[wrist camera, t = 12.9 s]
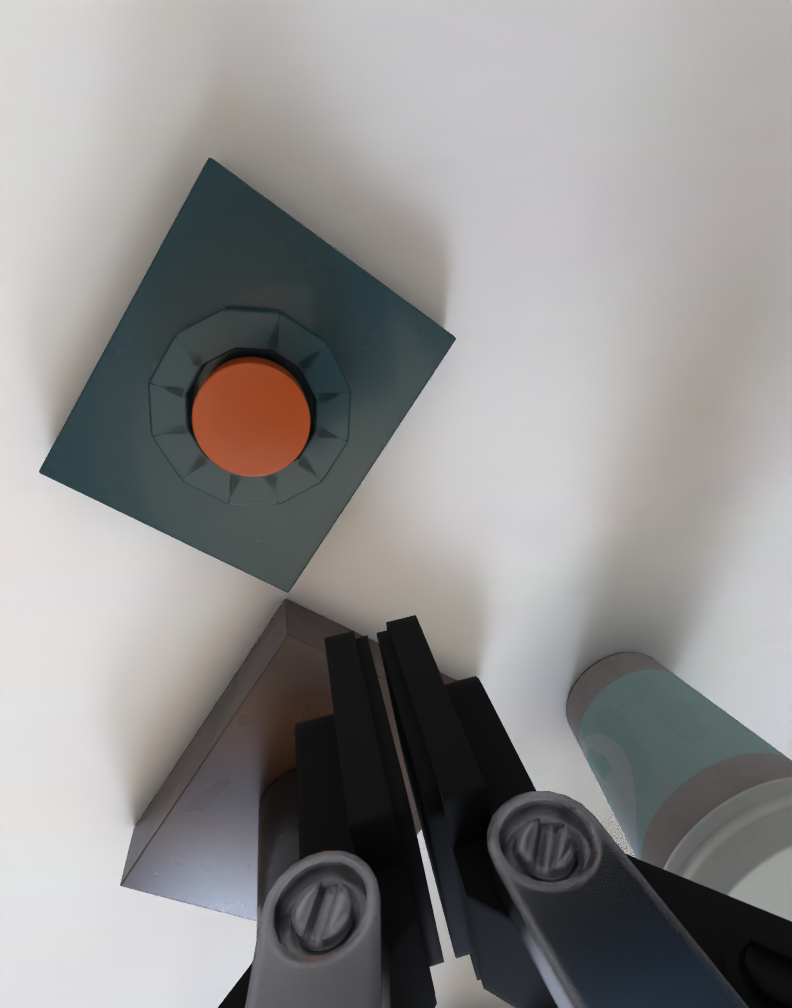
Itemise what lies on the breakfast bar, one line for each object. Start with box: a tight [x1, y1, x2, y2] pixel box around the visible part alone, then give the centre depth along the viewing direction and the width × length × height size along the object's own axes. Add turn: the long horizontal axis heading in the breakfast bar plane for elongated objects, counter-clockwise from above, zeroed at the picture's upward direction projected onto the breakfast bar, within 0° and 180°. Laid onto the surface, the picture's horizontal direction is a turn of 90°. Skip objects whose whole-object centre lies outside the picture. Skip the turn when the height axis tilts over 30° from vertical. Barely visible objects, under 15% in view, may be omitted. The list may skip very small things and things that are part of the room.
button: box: [192, 357, 310, 477], centre depth 19 cm, size 4×4×2 cm
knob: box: [257, 770, 300, 936], centre depth 24 cm, size 5×5×6 cm
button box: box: [39, 158, 456, 592], centre depth 21 cm, size 12×10×4 cm
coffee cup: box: [566, 653, 792, 922], centre depth 27 cm, size 9×9×12 cm
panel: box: [120, 599, 456, 921], centre depth 28 cm, size 14×11×3 cm
